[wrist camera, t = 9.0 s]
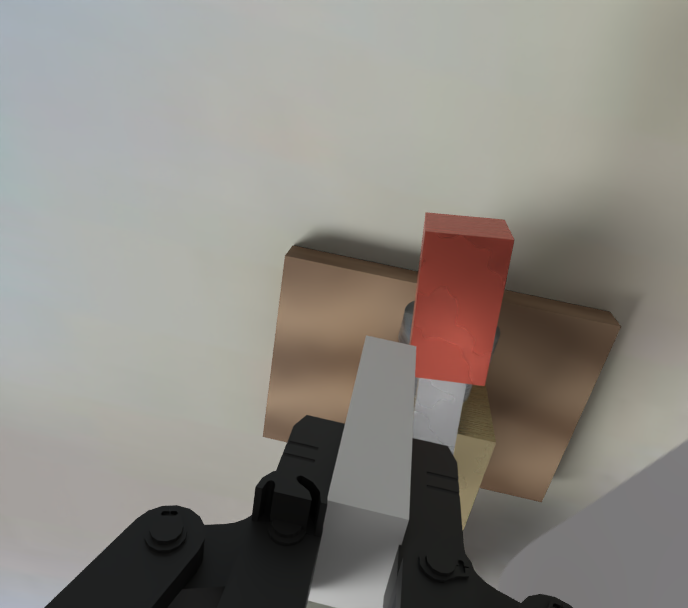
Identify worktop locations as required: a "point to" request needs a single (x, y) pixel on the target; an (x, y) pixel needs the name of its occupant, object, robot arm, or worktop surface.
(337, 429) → the robot arm
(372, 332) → the base board
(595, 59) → the worktop surface
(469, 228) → the valve lever
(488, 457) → the valve body
